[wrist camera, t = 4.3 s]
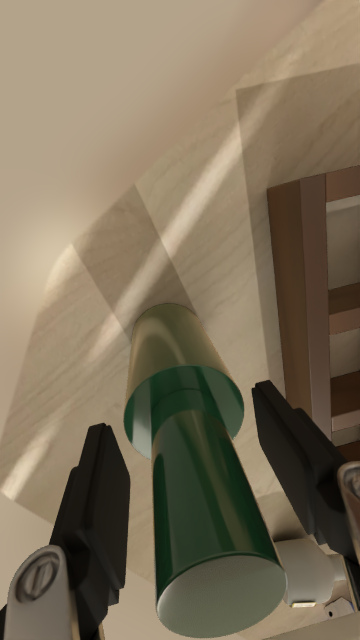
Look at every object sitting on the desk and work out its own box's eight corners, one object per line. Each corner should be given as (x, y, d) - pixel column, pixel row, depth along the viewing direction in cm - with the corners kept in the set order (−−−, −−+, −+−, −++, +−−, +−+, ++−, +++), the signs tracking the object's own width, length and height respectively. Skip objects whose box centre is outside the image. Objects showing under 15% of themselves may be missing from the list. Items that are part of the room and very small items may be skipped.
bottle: (142, 376, 21) (139, 687, 7) (123, 313, 19) (65, 559, 5) (208, 359, 21) (336, 628, 7) (195, 295, 19) (333, 485, 5)
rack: (292, 469, 26) (317, 511, 22) (266, 188, 18) (299, 179, 14) (383, 444, 27) (422, 481, 23) (400, 158, 18) (468, 140, 14)
